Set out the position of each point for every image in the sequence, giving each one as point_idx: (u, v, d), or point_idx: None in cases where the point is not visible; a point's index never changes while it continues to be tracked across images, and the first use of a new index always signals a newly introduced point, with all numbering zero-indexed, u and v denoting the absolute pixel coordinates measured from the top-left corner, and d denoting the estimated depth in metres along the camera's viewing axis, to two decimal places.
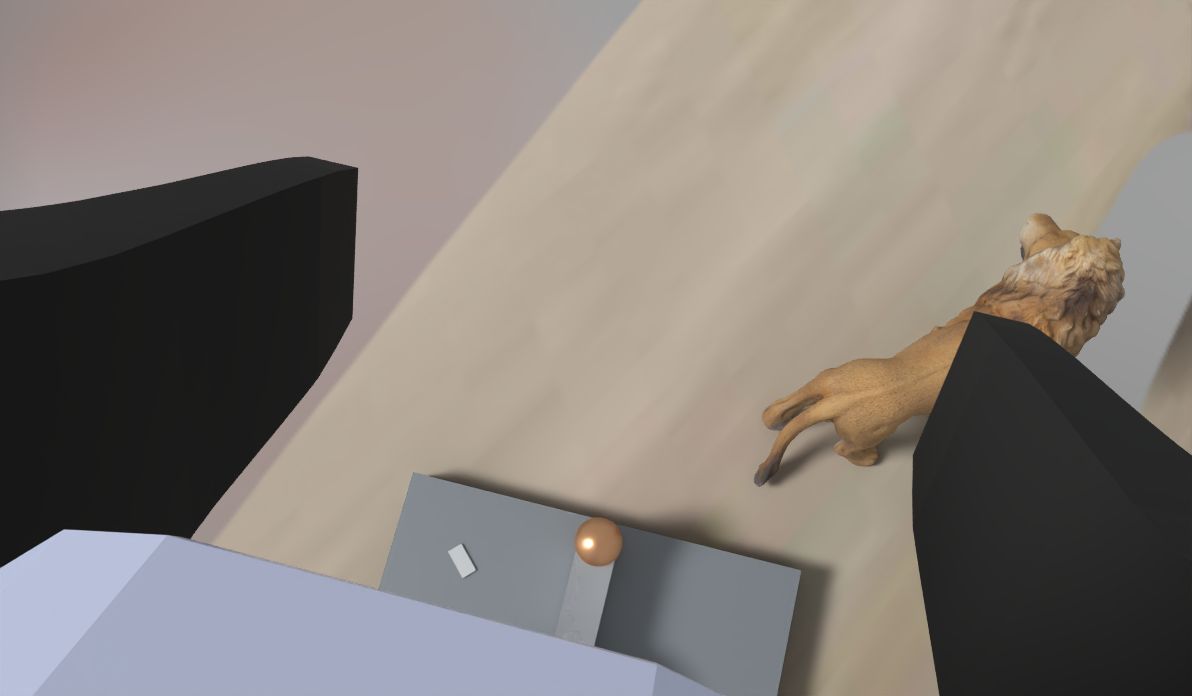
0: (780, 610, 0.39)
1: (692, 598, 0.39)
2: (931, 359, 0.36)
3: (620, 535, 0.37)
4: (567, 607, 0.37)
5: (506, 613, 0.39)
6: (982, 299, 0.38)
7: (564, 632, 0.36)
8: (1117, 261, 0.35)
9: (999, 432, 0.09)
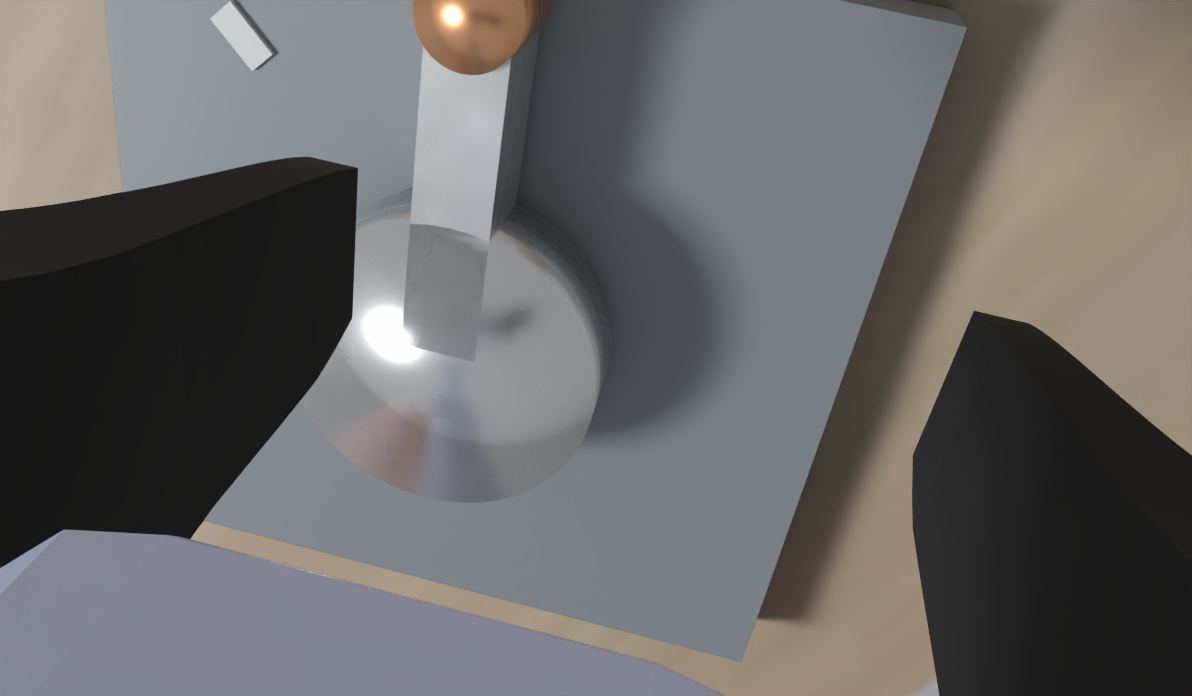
0: (905, 117, 0.18)
1: (713, 97, 0.18)
2: None
3: (514, 1, 0.16)
4: (426, 159, 0.17)
5: (350, 134, 0.20)
6: None
7: (428, 206, 0.18)
8: None
9: (999, 432, 0.09)
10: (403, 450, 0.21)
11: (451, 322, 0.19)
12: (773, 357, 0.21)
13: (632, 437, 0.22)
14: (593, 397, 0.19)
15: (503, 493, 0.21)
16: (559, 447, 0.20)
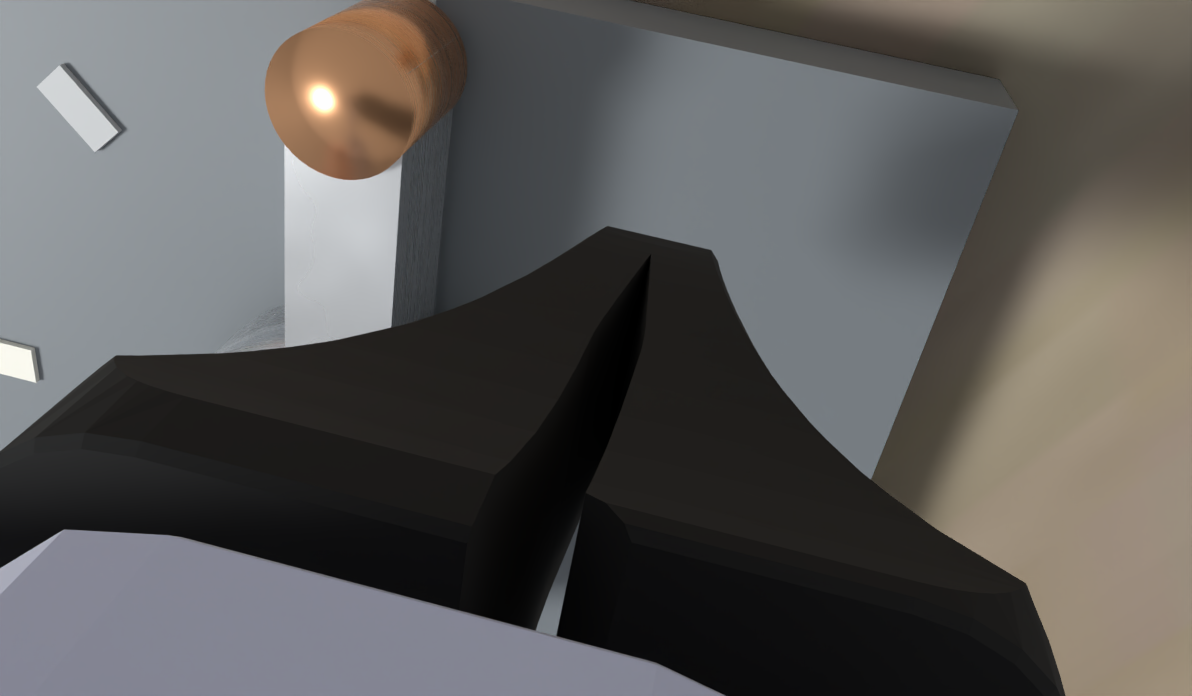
0: (934, 222, 0.13)
1: (681, 194, 0.14)
2: None
3: (400, 85, 0.11)
4: (299, 282, 0.13)
5: (223, 230, 0.16)
6: None
7: (307, 340, 0.14)
8: None
9: (635, 344, 0.10)
10: None
11: None
12: None
13: None
14: None
15: None
16: None
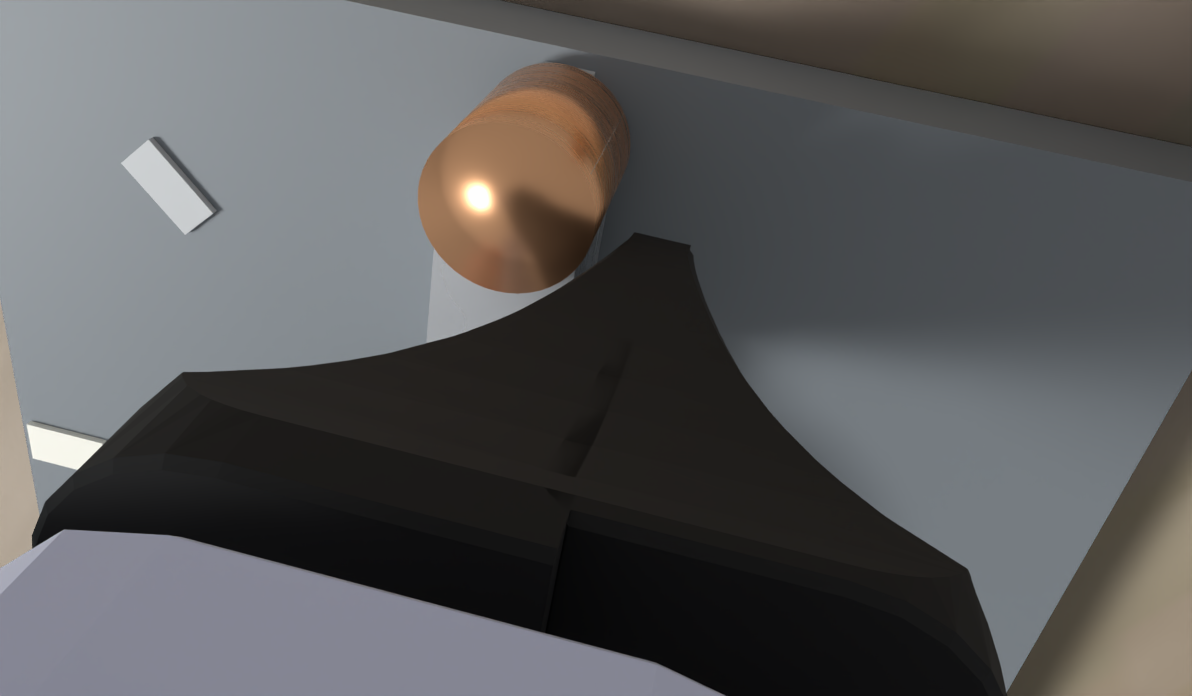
0: (1169, 325, 0.12)
1: (869, 289, 0.12)
2: None
3: (585, 188, 0.09)
4: None
5: (328, 320, 0.14)
6: None
7: None
8: None
9: None
10: None
11: None
12: None
13: None
14: None
15: None
16: None
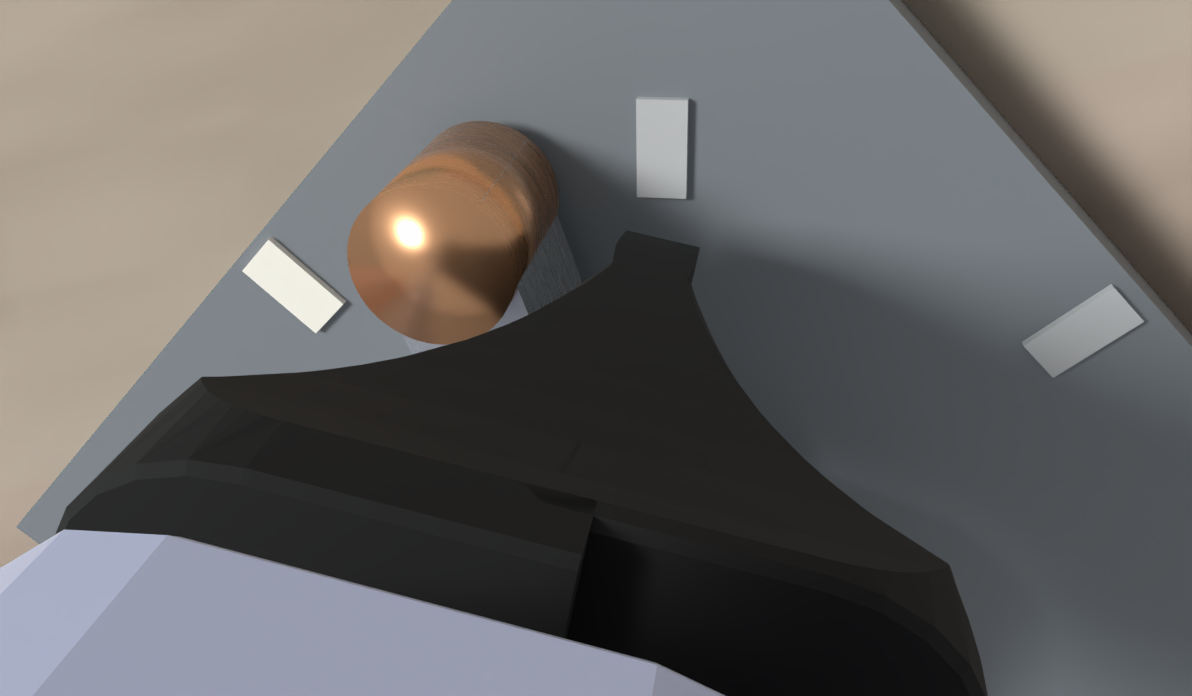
0: None
1: (1173, 582, 0.14)
2: None
3: (478, 215, 0.10)
4: None
5: None
6: None
7: None
8: None
9: None
10: None
11: None
12: None
13: None
14: None
15: None
16: None
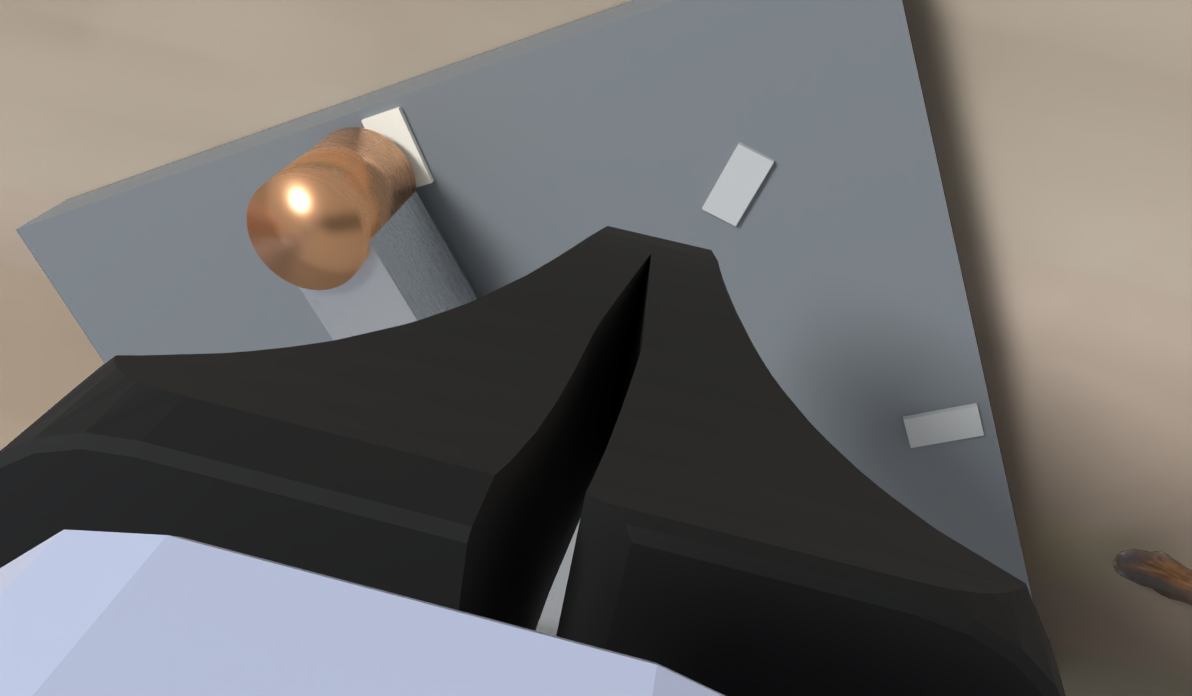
0: None
1: None
2: None
3: (329, 191, 0.14)
4: None
5: None
6: None
7: None
8: None
9: (634, 344, 0.10)
10: None
11: None
12: None
13: None
14: None
15: None
16: None
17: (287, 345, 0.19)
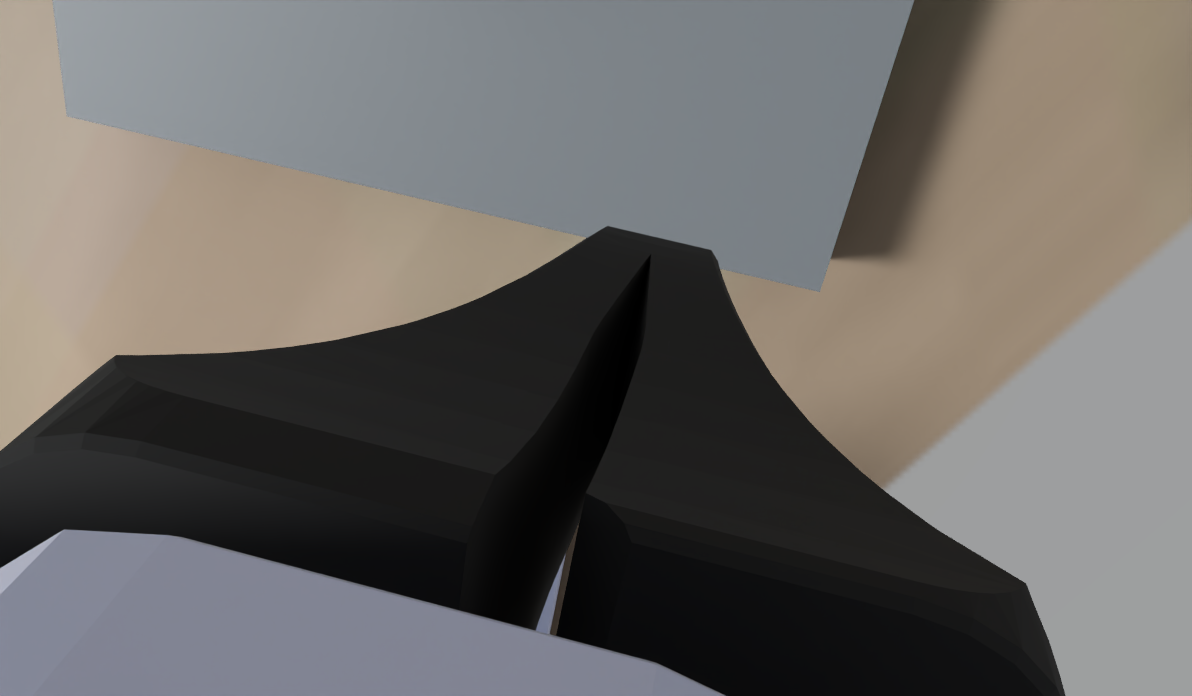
0: None
1: None
2: None
3: None
4: None
5: None
6: None
7: None
8: None
9: (635, 344, 0.10)
10: None
11: None
12: None
13: None
14: None
15: None
16: None
17: None
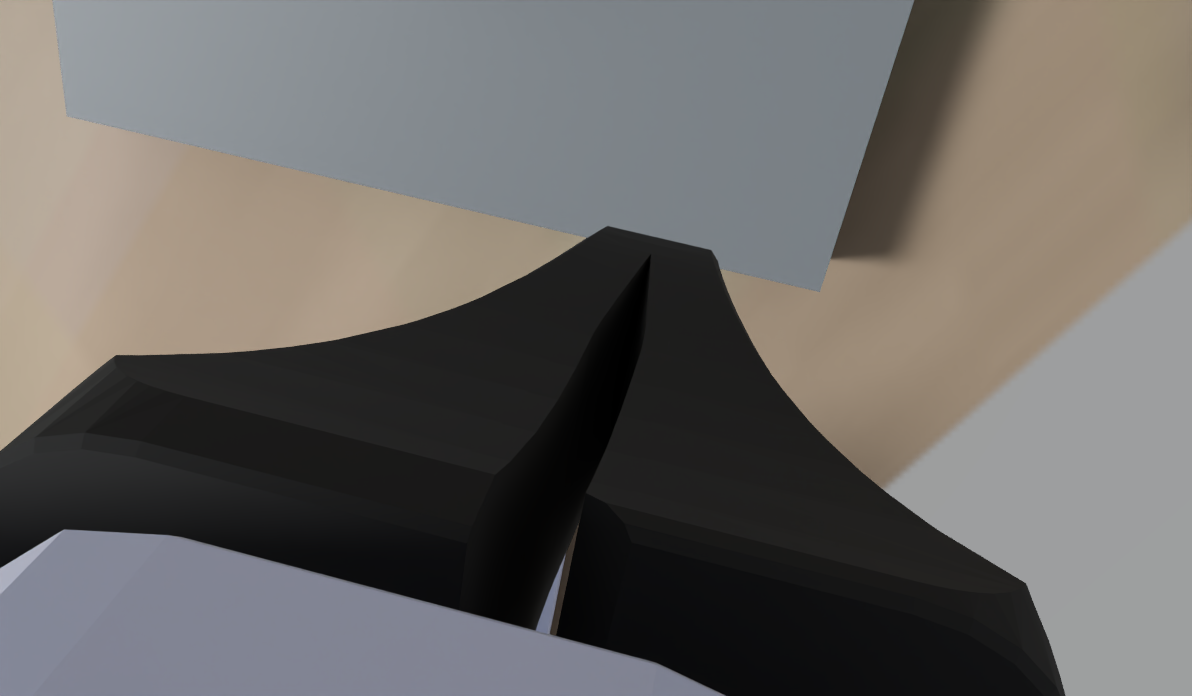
0: None
1: None
2: None
3: None
4: None
5: None
6: None
7: None
8: None
9: (635, 344, 0.10)
10: None
11: None
12: None
13: None
14: None
15: None
16: None
17: None
